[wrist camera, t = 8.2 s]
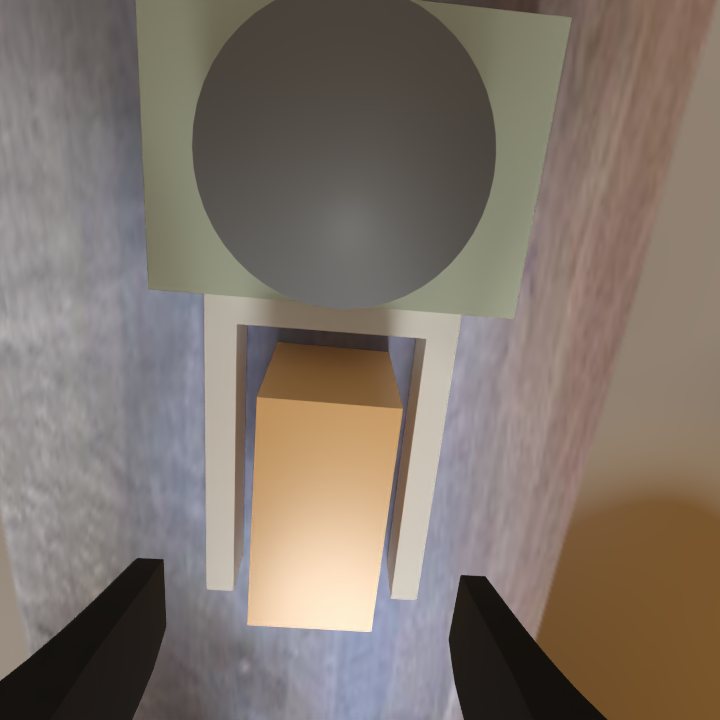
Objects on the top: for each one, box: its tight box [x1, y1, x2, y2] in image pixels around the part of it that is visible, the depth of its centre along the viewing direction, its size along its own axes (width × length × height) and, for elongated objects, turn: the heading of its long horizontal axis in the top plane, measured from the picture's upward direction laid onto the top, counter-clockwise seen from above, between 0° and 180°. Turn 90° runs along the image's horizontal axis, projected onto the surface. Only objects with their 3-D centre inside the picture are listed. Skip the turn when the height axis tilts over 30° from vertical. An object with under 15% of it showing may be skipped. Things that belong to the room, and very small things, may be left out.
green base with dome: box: [136, 0, 572, 600], centre depth 17 cm, size 20×11×5 cm, turn 175°
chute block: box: [247, 342, 403, 632], centre depth 18 cm, size 8×4×5 cm, turn 174°
